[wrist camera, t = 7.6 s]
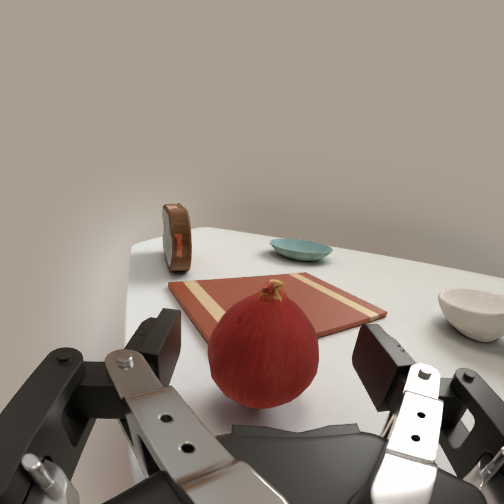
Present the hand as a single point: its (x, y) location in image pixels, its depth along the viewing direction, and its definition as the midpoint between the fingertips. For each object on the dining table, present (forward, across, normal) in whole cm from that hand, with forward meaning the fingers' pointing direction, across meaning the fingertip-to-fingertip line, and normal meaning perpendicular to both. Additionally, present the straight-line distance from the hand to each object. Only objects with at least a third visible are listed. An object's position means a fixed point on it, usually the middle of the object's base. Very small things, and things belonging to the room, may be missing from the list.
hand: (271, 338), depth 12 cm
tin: (+30, +11, +6) cm, 32 cm away
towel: (+18, -3, +6) cm, 19 cm away
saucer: (+41, -10, +6) cm, 43 cm away
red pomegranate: (+2, 0, +6) cm, 6 cm away
